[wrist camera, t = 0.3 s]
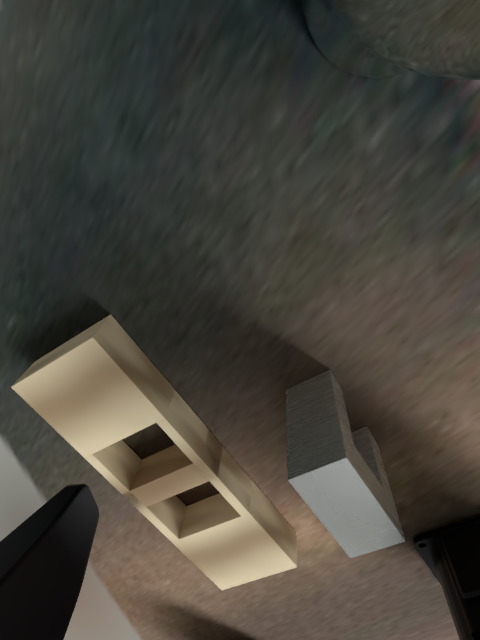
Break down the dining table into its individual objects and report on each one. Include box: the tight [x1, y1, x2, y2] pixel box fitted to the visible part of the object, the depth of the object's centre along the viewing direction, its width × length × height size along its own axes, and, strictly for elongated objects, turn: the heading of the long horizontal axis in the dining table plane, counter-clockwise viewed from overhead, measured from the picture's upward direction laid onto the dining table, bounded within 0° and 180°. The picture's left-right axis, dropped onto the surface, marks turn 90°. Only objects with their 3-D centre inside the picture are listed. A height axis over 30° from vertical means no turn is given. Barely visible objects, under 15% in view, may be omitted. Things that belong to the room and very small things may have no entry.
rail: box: [11, 314, 297, 590], centre depth 26 cm, size 20×6×2 cm, turn 33°
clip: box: [286, 370, 406, 558], centre depth 22 cm, size 6×3×6 cm, turn 33°
